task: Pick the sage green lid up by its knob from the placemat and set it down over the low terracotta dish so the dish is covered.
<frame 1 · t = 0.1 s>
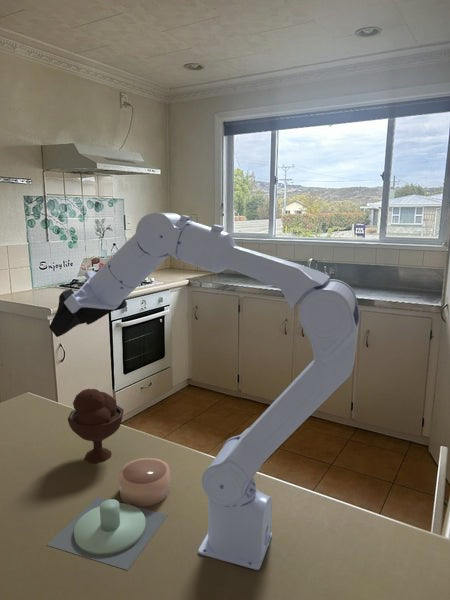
hand: (70, 325, 72), 32 cm above the countertop, tool tilted 50°, fingers open, 7 cm apart
ice cream bowl: (98, 457, 93), on the countertop
lid: (110, 529, 72), resting on placemat
placemat: (110, 530, 72), on the countertop
dish: (145, 491, 82), on the countertop
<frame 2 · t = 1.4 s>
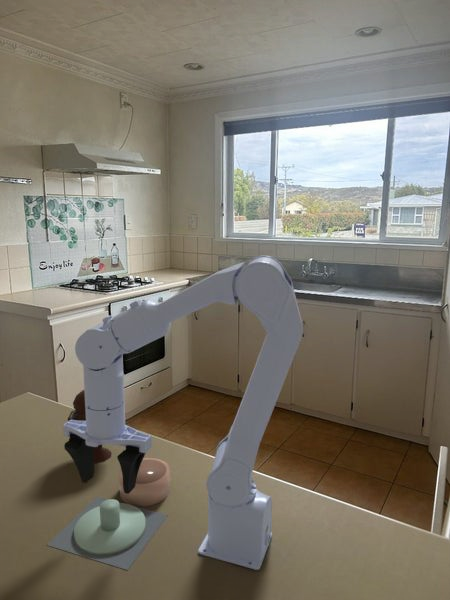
hand: (108, 484, 70), 8 cm above the countertop, tool pointing down, fingers open, 7 cm apart
nothing on the countertop moved.
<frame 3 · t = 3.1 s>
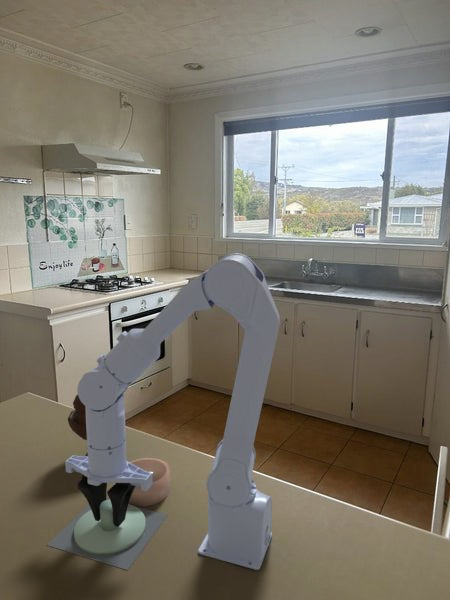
hand: (110, 519, 71), 2 cm above the countertop, tool pointing down, fingers closed on lid, 3 cm apart
lid: (110, 529, 72), resting on placemat, touching gripper
everything else where it was.
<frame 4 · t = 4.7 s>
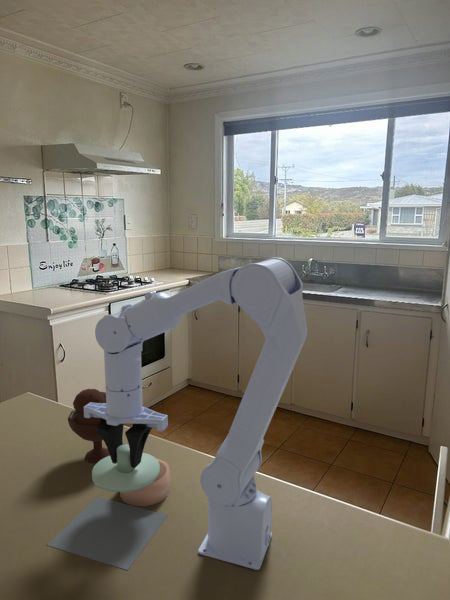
hand: (126, 462, 75), 9 cm above the countertop, tool pointing down, fingers closed on lid, 3 cm apart
lid: (126, 472, 75), point 7 cm above the countertop, touching gripper
everything else where it was.
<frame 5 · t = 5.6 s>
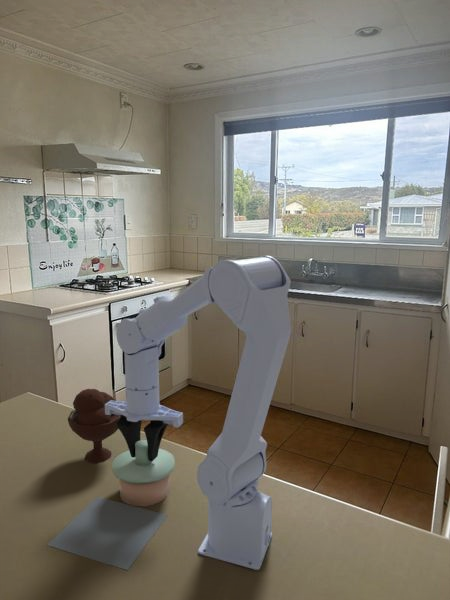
hand: (144, 456, 81), 7 cm above the countertop, tool pointing down, fingers closed on lid, 3 cm apart
lid: (143, 466, 81), point 5 cm above the countertop, touching gripper
everything else where it was.
when the fingers open (7 cm above the countertop, at t = 6.2 s): lid drops 1 cm, resting on dish.
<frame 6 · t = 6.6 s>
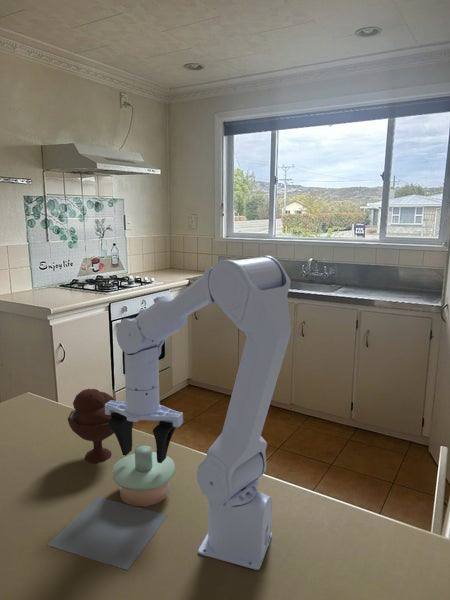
hand: (144, 456, 81), 7 cm above the countertop, tool pointing down, fingers open, 6 cm apart
lid: (143, 471, 81), point 4 cm above the countertop, touching dish
everything else where it was.
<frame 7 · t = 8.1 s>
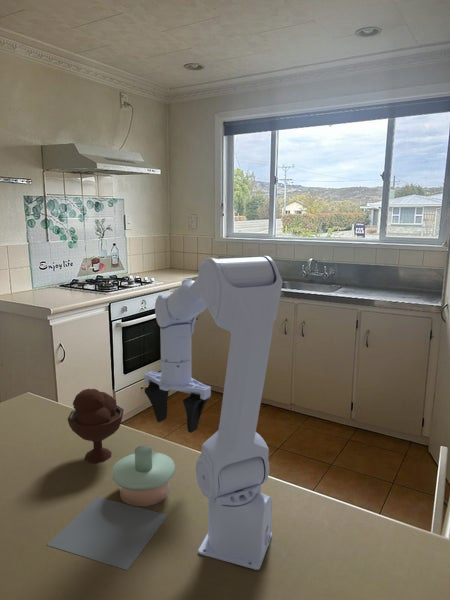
hand: (176, 425, 87), 9 cm above the countertop, tool pointing down, fingers open, 7 cm apart
nothing on the countertop moved.
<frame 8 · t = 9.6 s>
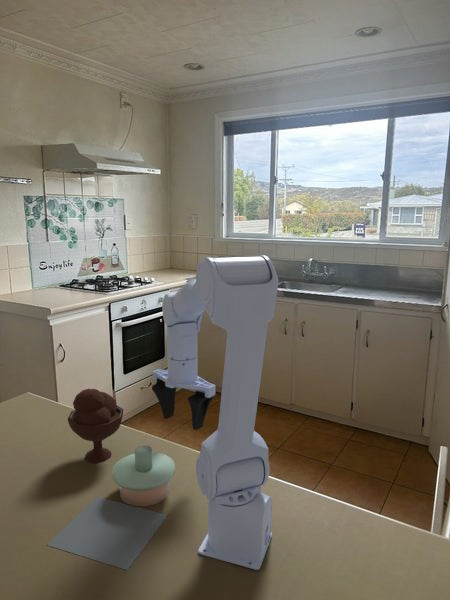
hand: (183, 422, 88), 9 cm above the countertop, tool pointing down, fingers open, 7 cm apart
nothing on the countertop moved.
at the end: lid 0.2 cm off-centre on the dish, point 4.0 cm above the dish's base; lid tilted 0°; the gripper is holding nothing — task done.
